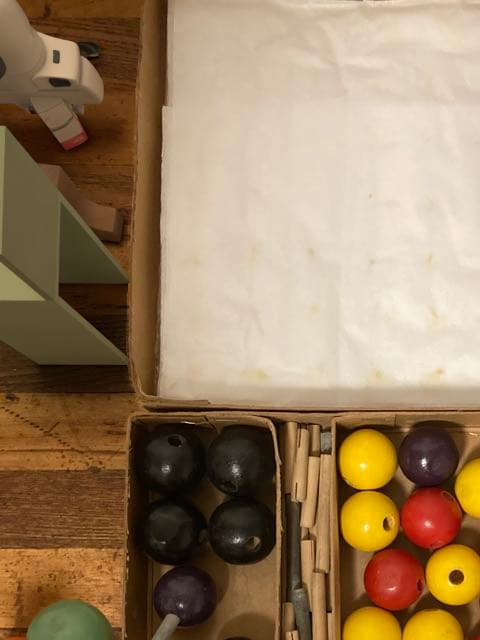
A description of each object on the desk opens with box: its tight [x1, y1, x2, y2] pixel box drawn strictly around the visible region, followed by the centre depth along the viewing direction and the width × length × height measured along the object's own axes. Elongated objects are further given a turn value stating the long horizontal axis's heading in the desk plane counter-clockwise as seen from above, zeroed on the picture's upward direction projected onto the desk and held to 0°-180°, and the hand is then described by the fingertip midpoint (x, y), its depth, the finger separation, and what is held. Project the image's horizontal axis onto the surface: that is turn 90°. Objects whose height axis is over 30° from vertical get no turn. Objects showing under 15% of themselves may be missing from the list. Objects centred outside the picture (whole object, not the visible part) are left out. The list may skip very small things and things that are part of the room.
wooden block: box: [36, 162, 125, 243], centre depth 142 cm, size 9×4×18 cm, turn 83°
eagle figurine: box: [74, 40, 101, 58], centre depth 150 cm, size 8×7×9 cm
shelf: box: [0, 125, 131, 366], centre depth 126 cm, size 16×16×49 cm
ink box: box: [29, 97, 89, 151], centre depth 146 cm, size 9×5×12 cm, turn 27°
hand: (57, 110), depth 148 cm, fingers open, 7 cm apart
